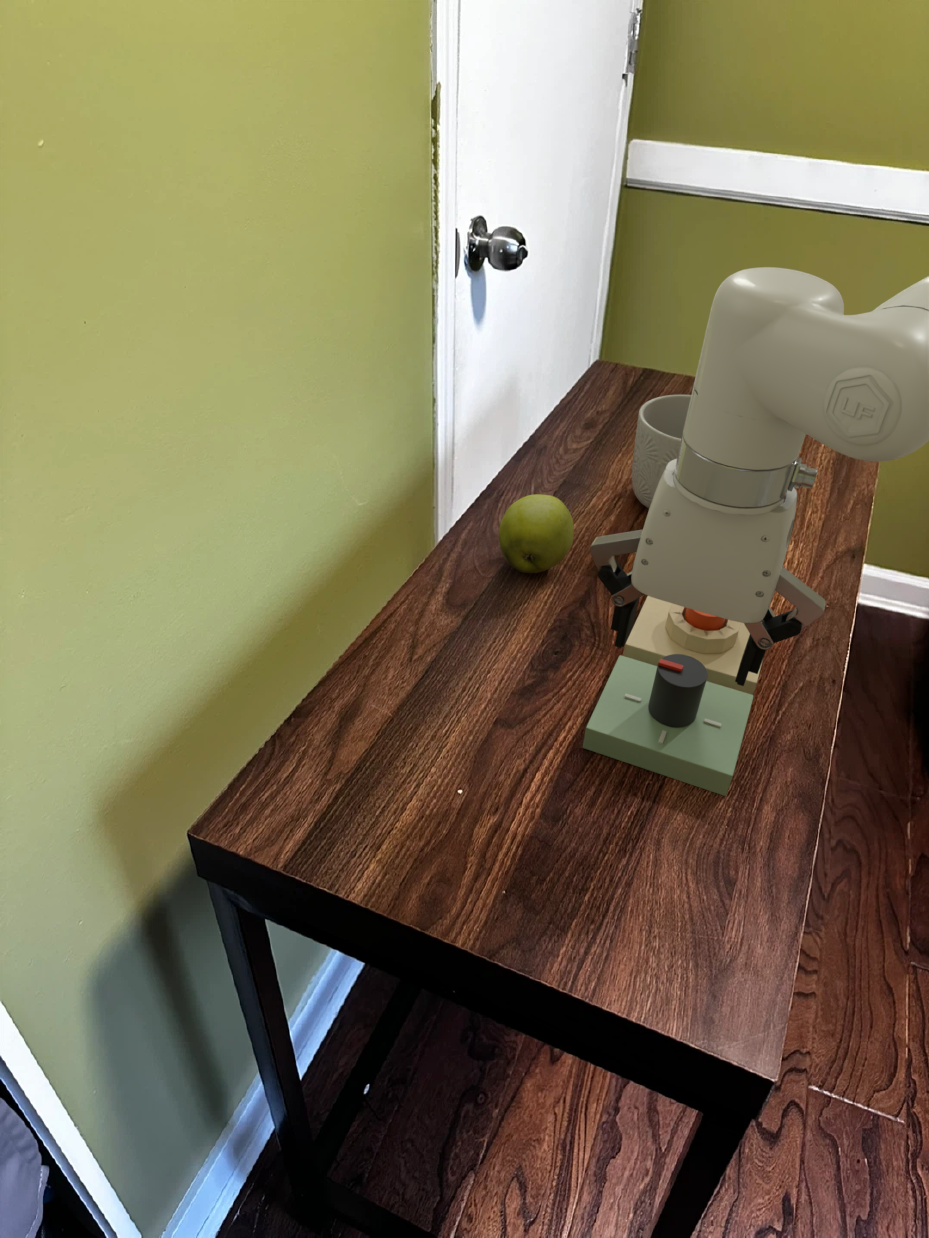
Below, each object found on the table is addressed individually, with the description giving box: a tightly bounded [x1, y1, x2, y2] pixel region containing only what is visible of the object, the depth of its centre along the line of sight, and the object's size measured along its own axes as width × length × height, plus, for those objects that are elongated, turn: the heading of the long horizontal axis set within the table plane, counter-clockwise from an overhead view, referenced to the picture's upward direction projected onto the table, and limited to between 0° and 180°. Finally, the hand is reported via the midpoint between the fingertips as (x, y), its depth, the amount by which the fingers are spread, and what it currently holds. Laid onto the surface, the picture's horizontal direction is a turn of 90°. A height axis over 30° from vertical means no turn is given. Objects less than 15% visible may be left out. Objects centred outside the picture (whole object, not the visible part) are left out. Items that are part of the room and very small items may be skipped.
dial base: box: [582, 654, 755, 797], centre depth 73 cm, size 12×10×3 cm
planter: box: [631, 394, 692, 510], centre depth 100 cm, size 12×12×11 cm
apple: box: [498, 493, 575, 574], centre depth 90 cm, size 8×9×8 cm
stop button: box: [685, 608, 725, 631], centre depth 79 cm, size 4×4×2 cm
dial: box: [648, 654, 708, 728], centre depth 70 cm, size 4×4×5 cm
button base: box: [622, 595, 764, 695], centre depth 81 cm, size 12×10×4 cm
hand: (681, 655), depth 68 cm, fingers open, 9 cm apart
